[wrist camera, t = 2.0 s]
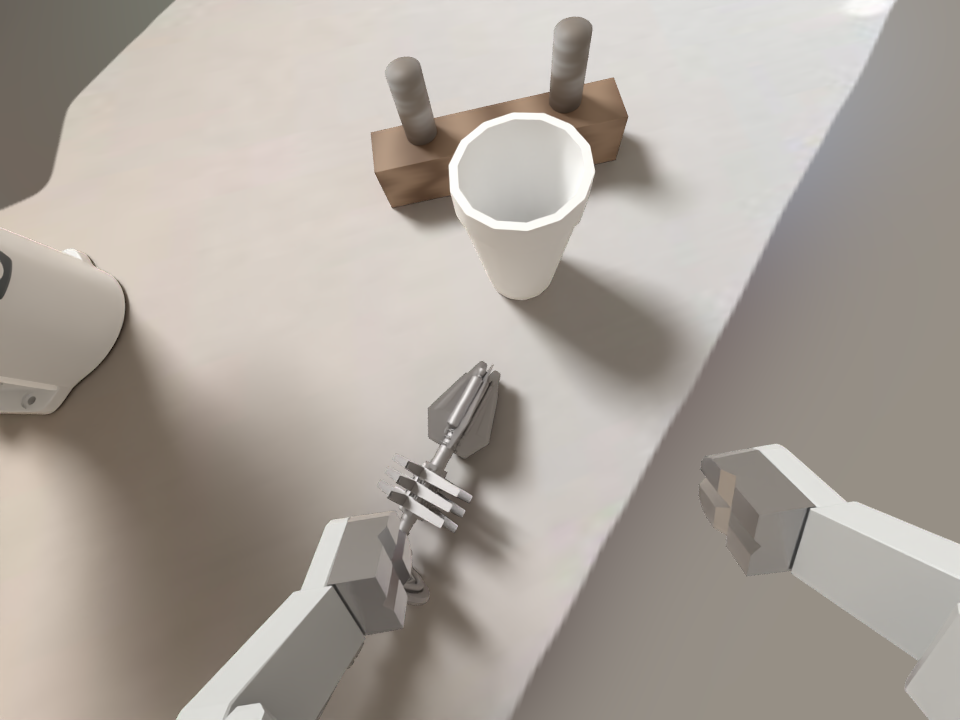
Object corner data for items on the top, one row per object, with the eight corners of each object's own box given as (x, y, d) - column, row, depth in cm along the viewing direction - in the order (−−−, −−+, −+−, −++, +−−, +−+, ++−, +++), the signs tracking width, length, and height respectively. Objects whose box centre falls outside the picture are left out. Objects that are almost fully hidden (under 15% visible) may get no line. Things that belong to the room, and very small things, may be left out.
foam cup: (494, 219, 39) (480, 100, 26) (582, 242, 37) (612, 127, 25) (459, 298, 37) (426, 210, 24) (550, 328, 35) (565, 248, 22)
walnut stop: (392, 207, 41) (346, 115, 30) (388, 171, 42) (343, 71, 32) (615, 159, 39) (649, 45, 29) (603, 123, 41) (630, 2, 30)
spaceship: (114, 848, 21) (162, 1025, 16) (434, 331, 31) (515, 354, 27) (241, 792, 27) (301, 910, 22) (473, 376, 37) (544, 400, 33)
